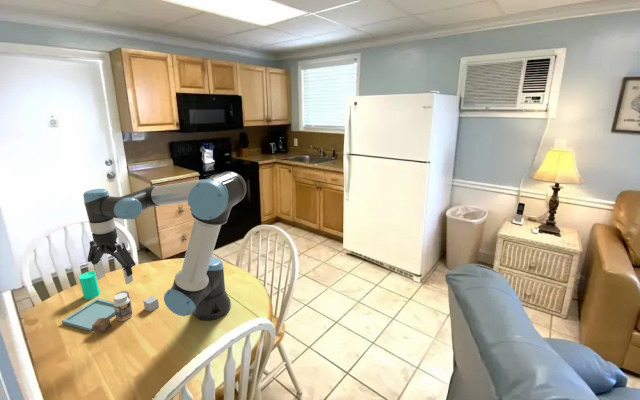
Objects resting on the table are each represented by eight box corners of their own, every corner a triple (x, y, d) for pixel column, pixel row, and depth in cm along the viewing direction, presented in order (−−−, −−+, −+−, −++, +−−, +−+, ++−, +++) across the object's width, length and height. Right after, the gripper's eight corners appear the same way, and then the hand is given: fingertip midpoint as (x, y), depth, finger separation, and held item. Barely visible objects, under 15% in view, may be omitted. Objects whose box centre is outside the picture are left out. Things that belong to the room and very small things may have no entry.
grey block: (159, 306, 133) (157, 299, 132) (150, 312, 130) (148, 303, 129) (153, 303, 135) (152, 295, 134) (144, 308, 132) (143, 300, 131)
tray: (125, 307, 132) (124, 304, 132) (91, 331, 118) (91, 328, 118) (98, 301, 136) (97, 298, 135) (62, 323, 122) (61, 320, 122)
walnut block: (111, 326, 121) (109, 317, 120) (105, 333, 118) (103, 325, 116) (100, 326, 121) (98, 318, 120) (94, 334, 117) (91, 325, 116)
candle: (96, 290, 144) (90, 267, 140) (102, 294, 141) (97, 270, 137) (81, 296, 139) (75, 273, 135) (87, 301, 136) (81, 277, 132)
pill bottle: (125, 322, 124) (120, 301, 120) (113, 320, 125) (108, 299, 122) (136, 313, 129) (132, 292, 126) (124, 311, 130) (119, 290, 127)
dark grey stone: (132, 297, 139) (131, 292, 138) (122, 304, 134) (121, 298, 133) (123, 295, 140) (122, 290, 139) (113, 302, 135) (112, 296, 135)
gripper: (139, 229, 116) (149, 279, 122) (86, 223, 122) (98, 270, 128) (123, 238, 109) (133, 290, 116) (67, 230, 115) (81, 280, 121)
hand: (115, 280), depth 122 cm, fingers open, 13 cm apart
